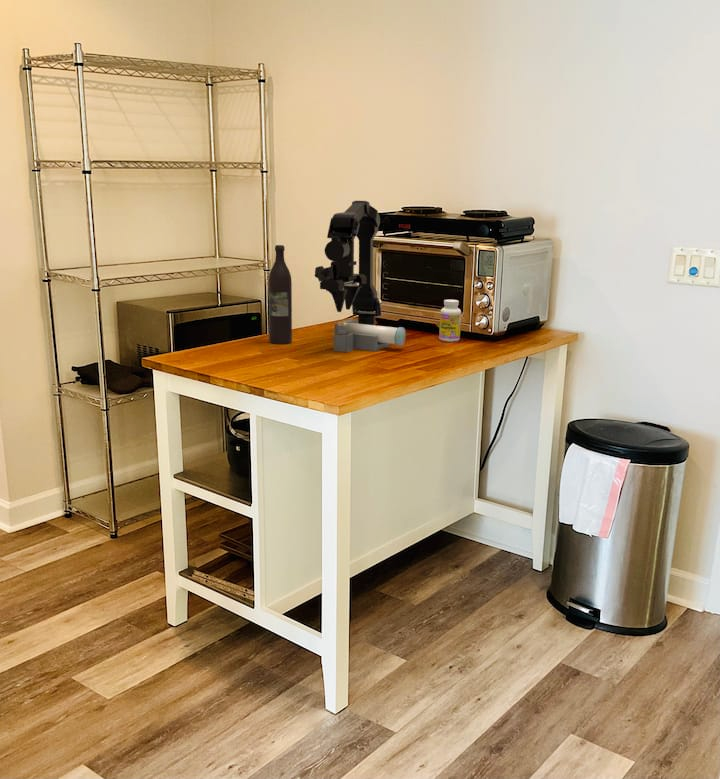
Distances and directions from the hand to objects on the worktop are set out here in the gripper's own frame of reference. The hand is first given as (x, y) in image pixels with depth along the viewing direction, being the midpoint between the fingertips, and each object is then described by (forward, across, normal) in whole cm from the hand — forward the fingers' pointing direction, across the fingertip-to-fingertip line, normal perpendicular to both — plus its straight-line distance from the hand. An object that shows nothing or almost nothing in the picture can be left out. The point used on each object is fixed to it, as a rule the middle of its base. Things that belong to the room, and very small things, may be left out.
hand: (343, 310), depth 241 cm
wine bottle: (+12, 0, -22) cm, 26 cm away
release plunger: (+10, 0, 0) cm, 10 cm away
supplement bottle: (+12, -32, +22) cm, 40 cm away
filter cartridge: (+11, -9, +7) cm, 15 cm away
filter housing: (+12, -6, +2) cm, 13 cm away
